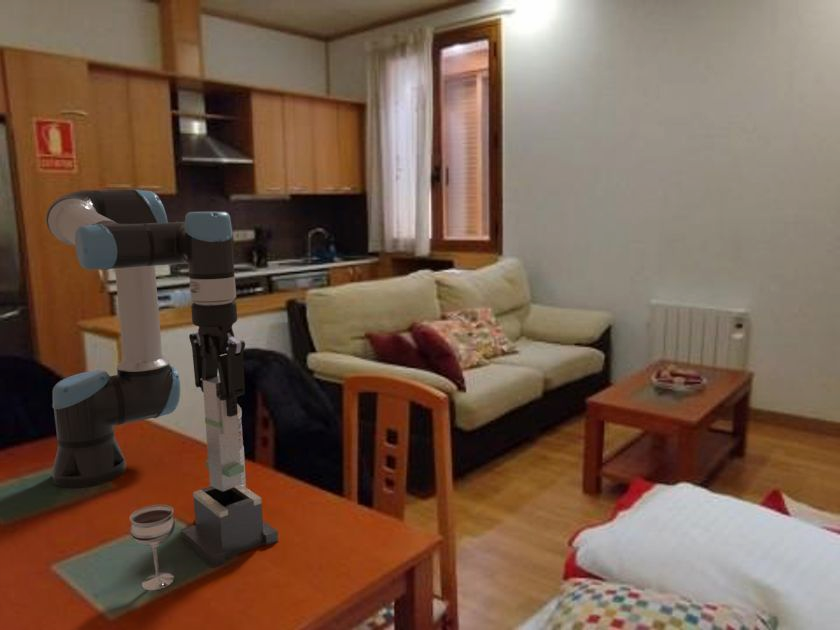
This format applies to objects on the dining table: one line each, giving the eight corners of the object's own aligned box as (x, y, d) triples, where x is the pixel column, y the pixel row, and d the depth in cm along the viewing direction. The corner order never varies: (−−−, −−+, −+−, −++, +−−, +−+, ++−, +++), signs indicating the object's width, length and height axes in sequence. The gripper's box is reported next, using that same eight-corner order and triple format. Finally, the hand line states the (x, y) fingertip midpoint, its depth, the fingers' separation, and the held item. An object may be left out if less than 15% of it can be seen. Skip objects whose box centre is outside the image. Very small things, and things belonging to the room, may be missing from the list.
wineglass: (176, 590, 105) (170, 521, 103) (131, 596, 104) (124, 526, 102) (182, 567, 112) (177, 502, 109) (140, 572, 110) (134, 506, 108)
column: (204, 483, 119) (197, 378, 116) (224, 475, 122) (217, 373, 119) (227, 494, 115) (220, 385, 111) (247, 486, 118) (240, 380, 114)
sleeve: (181, 539, 121) (178, 494, 119) (244, 516, 129) (242, 474, 128) (212, 567, 111) (208, 519, 110) (278, 541, 120) (275, 495, 118)
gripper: (167, 299, 115) (177, 425, 119) (224, 309, 104) (233, 446, 108) (204, 294, 121) (212, 414, 125) (262, 303, 110) (269, 434, 114)
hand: (222, 429), depth 117 cm, fingers closed on column, 4 cm apart
